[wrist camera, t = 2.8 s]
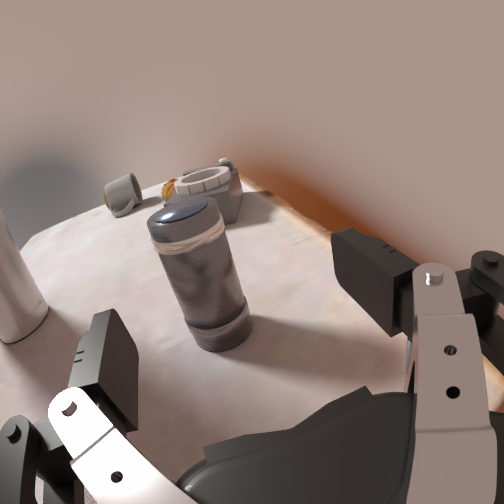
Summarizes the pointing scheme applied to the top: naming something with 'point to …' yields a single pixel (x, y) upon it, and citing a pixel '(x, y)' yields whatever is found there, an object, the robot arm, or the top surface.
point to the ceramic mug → (122, 195)
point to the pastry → (168, 189)
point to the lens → (202, 272)
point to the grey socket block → (212, 187)
